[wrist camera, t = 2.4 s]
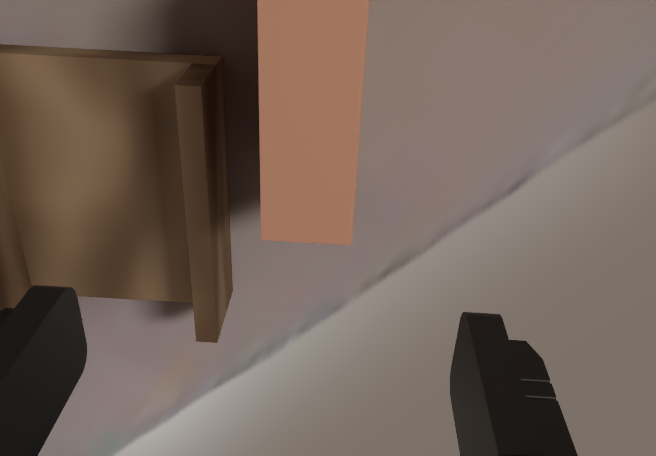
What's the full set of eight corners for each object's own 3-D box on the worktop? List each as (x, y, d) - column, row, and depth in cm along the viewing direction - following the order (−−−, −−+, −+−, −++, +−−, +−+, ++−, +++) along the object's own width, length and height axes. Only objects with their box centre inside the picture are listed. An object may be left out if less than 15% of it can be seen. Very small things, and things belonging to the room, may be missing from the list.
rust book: (283, 156, 35) (261, 239, 28) (284, -81, 29) (256, -59, 21) (354, 160, 35) (351, 245, 28) (370, -76, 29) (373, -53, 21)
